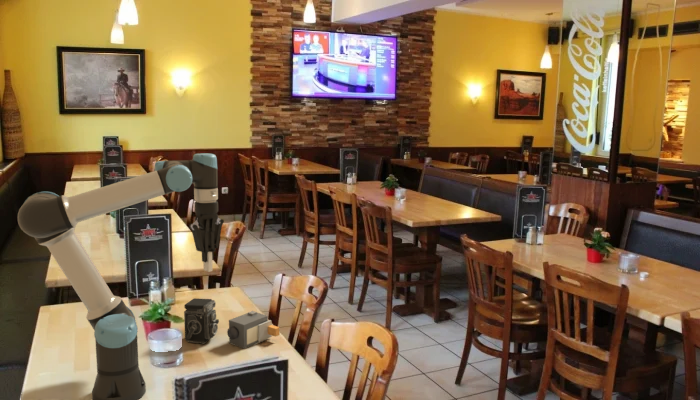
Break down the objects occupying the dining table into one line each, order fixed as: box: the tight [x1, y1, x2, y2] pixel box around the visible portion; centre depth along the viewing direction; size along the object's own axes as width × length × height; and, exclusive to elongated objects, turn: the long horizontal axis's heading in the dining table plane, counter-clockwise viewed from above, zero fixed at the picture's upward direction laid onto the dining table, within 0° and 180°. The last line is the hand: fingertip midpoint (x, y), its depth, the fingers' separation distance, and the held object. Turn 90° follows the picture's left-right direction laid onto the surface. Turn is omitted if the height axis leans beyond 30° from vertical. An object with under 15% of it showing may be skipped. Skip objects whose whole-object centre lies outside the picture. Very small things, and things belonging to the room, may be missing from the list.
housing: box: [226, 310, 269, 350], centre depth 220 cm, size 14×8×10 cm, turn 144°
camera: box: [183, 297, 220, 344], centre depth 221 cm, size 10×10×15 cm
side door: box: [258, 319, 280, 343], centre depth 220 cm, size 6×5×6 cm
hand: (208, 270), depth 198 cm, fingers closed
